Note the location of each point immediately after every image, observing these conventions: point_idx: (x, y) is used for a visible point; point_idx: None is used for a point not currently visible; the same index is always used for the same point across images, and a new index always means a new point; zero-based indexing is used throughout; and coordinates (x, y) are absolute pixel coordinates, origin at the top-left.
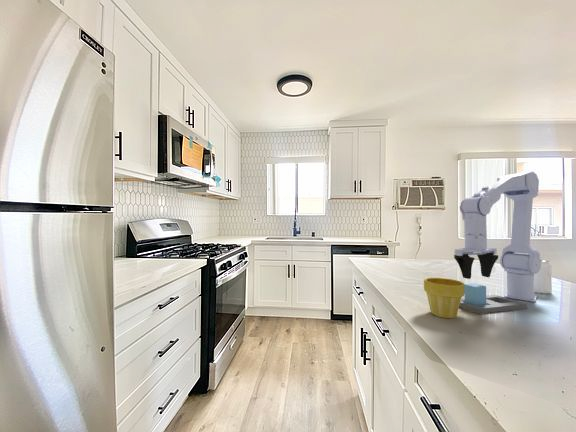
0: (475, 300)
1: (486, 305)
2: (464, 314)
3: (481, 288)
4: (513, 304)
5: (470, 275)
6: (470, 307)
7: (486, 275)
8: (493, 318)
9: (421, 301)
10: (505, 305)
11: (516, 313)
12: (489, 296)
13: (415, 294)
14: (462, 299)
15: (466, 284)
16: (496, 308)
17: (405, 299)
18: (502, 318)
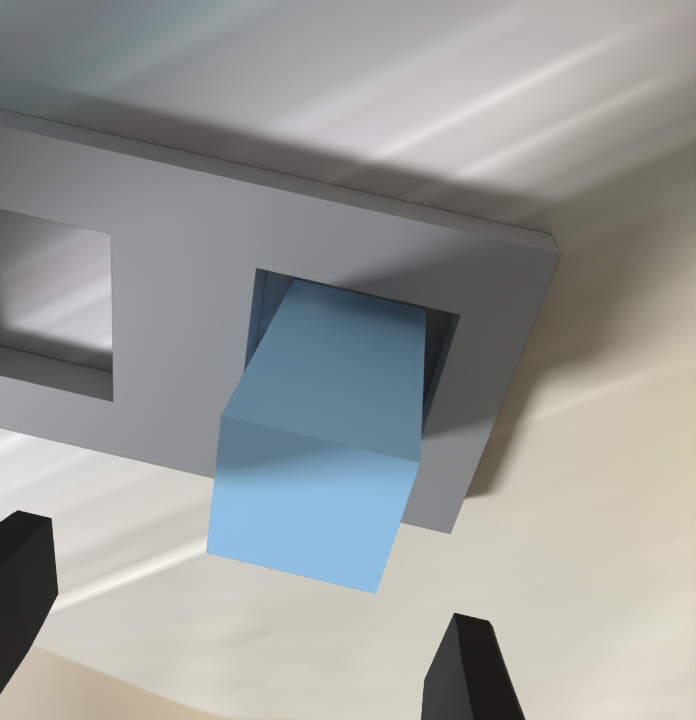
0: (421, 364)
1: (342, 272)
2: (688, 297)
3: (314, 421)
4: (10, 144)
5: (480, 667)
6: (525, 335)
7: (38, 560)
8: (570, 77)
9: (603, 626)
10: (138, 169)
11: (146, 43)
12: (3, 401)
13: None
14: None
15: (369, 575)
16: (294, 188)
17: (658, 695)
18: (479, 25)
